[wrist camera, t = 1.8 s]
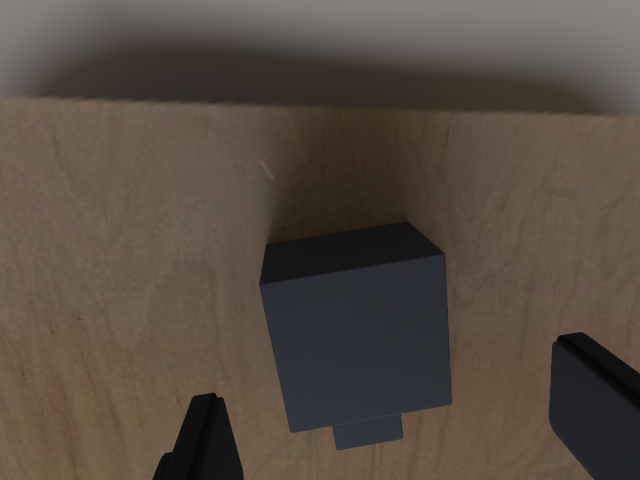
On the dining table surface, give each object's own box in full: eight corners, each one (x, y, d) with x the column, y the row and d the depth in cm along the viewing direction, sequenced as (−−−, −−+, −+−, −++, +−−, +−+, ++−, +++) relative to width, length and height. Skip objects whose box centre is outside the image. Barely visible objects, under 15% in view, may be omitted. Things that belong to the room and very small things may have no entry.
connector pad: (301, 423, 19) (304, 500, 15) (265, 244, 16) (258, 284, 12) (421, 401, 19) (455, 472, 15) (408, 221, 16) (445, 253, 12)
